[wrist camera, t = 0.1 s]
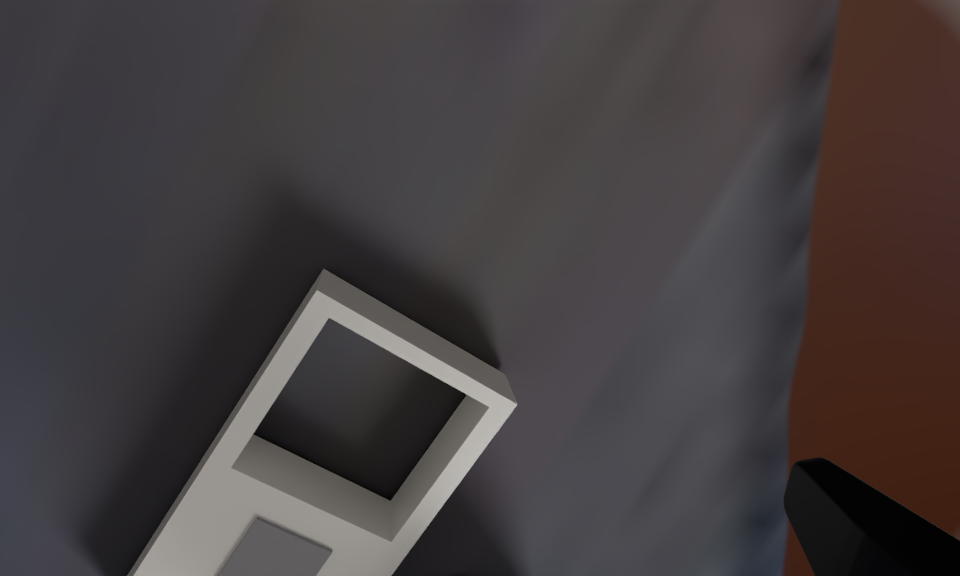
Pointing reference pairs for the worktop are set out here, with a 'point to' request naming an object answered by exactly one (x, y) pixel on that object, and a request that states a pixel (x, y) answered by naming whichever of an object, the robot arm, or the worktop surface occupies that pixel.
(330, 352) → the worktop surface
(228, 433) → the power strip
